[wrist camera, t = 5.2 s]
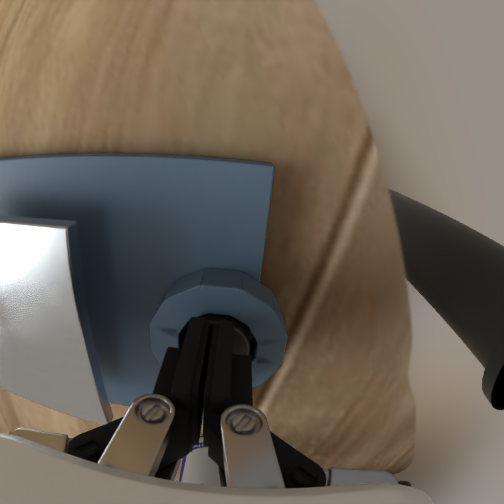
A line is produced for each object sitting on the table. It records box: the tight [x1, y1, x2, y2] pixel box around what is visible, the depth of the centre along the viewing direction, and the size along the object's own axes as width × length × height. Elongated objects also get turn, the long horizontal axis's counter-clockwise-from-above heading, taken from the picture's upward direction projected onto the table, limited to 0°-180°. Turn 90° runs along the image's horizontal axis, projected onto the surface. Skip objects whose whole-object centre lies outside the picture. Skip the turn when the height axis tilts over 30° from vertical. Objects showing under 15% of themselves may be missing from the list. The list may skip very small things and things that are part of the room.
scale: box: [0, 153, 288, 419], centre depth 13 cm, size 17×14×3 cm
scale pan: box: [0, 215, 113, 425], centre depth 10 cm, size 9×10×1 cm
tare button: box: [198, 313, 250, 355], centre depth 12 cm, size 3×3×2 cm
